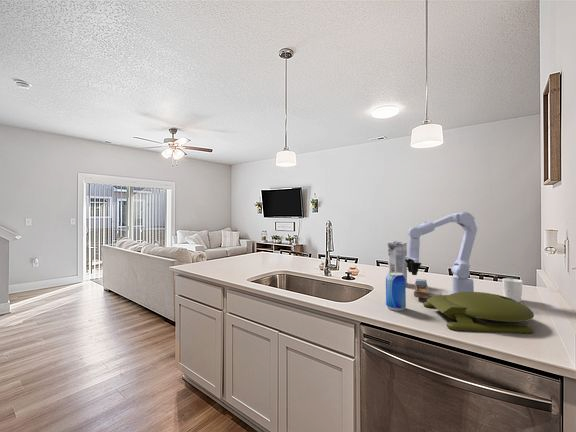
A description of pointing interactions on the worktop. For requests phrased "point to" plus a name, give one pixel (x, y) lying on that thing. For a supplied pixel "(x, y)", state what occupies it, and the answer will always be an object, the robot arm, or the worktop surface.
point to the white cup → (512, 288)
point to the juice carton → (397, 258)
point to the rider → (421, 283)
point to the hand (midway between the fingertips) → (412, 273)
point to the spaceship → (482, 312)
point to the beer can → (395, 291)
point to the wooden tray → (421, 292)
